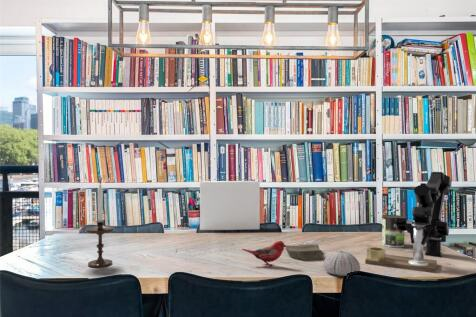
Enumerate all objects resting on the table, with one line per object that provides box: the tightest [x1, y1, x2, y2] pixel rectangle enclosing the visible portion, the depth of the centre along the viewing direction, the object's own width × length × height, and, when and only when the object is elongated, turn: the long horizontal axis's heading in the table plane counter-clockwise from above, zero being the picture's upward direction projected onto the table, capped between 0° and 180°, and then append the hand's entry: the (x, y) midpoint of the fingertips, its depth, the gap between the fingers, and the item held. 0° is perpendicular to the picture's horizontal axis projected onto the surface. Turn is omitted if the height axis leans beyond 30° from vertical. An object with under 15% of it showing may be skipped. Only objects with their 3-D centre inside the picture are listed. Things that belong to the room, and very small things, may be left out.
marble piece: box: [285, 243, 323, 261], centre depth 168 cm, size 17×15×4 cm
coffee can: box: [381, 214, 406, 249], centre depth 188 cm, size 10×10×14 cm
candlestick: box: [85, 176, 116, 269], centre depth 154 cm, size 11×11×35 cm
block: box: [199, 180, 261, 231], centre depth 231 cm, size 35×8×28 cm, turn 96°
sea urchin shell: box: [322, 250, 361, 277], centre depth 143 cm, size 13×14×8 cm
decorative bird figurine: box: [241, 240, 288, 267], centre depth 153 cm, size 3×18×10 cm, turn 81°
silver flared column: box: [411, 223, 426, 261], centre depth 150 cm, size 5×5×14 cm
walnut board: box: [364, 253, 438, 273], centre depth 155 cm, size 13×25×2 cm, turn 60°
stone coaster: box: [408, 260, 428, 266], centre depth 150 cm, size 7×7×1 cm
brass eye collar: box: [366, 246, 386, 261], centre depth 157 cm, size 7×7×4 cm
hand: (417, 243), depth 149 cm, fingers closed on silver flared column, 4 cm apart
